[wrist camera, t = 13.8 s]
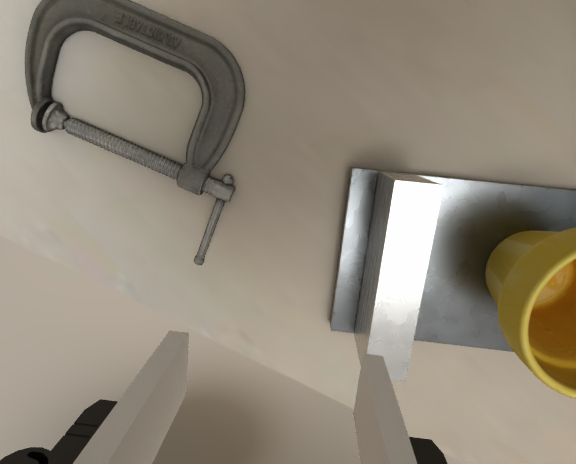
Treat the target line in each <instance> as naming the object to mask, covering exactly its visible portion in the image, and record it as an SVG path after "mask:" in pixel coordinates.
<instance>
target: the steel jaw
mask: <svg viewBox="0 0 576 464" xmlns="http://www.w3.org/2000/svg"><path fill="white" fill-rule="evenodd" d="M443 186H444V185H442V184H439V183H436V182H434V181H431V180H428V179H426V178H423V177H420V176H417V175H407V174H397V173H387V172H379V175H378V182H377V189H376V195H375V202H374V208H373V215H372V221H371V228H370V234H369V241H368V247H367V254H366V261H365V267H364V274H363V280H362V287H361V293H360V300H359V306H358V313H357V319H356V326H355V333H354V336H355V341H356V346H357V351H358V355H359V360H360V365H361V363H362V357H363V354H371V355H380V356H383V358H384V361H385V364H386V368H387V371H388V374H389V377H390V380H395V381H403V382H405V381H406V376H407V371H408V366H409V360H410V355H411V350H412V345H413V340H414V335H415V330H416V325H417V319H418V314H419V309H420V304H421V299H422V294H423V289H424V283H425V278H426V273H427V268H428V263H429V258H430V253H431V248H432V242H433V237H434V232H435V227H436V222H437V217H438V212H439V207H440V201H441V196H442V191H443Z"/></svg>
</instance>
